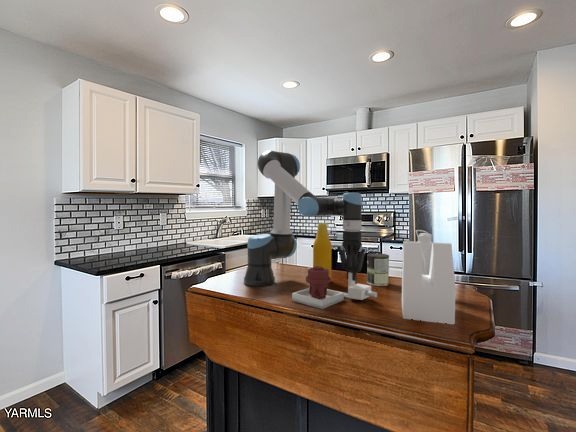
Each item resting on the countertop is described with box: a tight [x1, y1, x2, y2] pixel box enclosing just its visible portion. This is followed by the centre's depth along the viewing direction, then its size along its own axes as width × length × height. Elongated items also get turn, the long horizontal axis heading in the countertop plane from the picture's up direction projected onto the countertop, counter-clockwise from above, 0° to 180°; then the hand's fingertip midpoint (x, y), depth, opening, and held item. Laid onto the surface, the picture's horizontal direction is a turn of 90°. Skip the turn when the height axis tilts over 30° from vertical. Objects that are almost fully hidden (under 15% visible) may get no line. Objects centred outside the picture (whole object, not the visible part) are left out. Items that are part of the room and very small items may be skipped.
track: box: [337, 290, 359, 301], centre depth 127 cm, size 11×3×1 cm, turn 48°
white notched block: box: [401, 240, 457, 325], centre depth 108 cm, size 19×15×25 cm
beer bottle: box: [312, 223, 333, 279], centre depth 152 cm, size 9×9×29 cm
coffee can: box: [366, 252, 390, 287], centre depth 149 cm, size 10×10×14 cm
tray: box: [291, 287, 345, 310], centre depth 121 cm, size 15×15×3 cm
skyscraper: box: [415, 229, 433, 275], centre depth 132 cm, size 8×8×28 cm
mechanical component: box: [305, 266, 332, 299], centre depth 121 cm, size 12×10×10 cm
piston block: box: [347, 283, 378, 301], centre depth 121 cm, size 10×8×4 cm
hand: (351, 287), depth 125 cm, fingers closed
